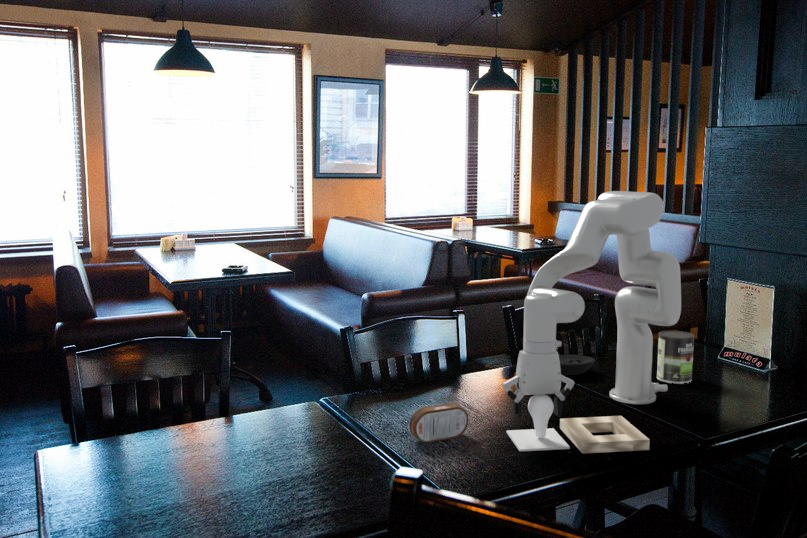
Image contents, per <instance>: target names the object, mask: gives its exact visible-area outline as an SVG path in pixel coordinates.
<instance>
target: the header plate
mask: <svg viewBox="0 0 807 538" xmlns="http://www.w3.org/2000/svg"><path fill="white" fill-rule="evenodd" d="M559 429H560V430H561V431H562V432H563V434H564V435H565V436H566V437H567V438H568V439H569V440H570V441H571V442H572V444H574V446H575V447H576V448H577V449H578V450H579V451H580V453H582V454H596V453H598V454H600V453H615V452H634V451H635V452H636V451H650V438H649V437H647V436H646V435H645V434H644V433H642V432H641V431H640V430H639V429H638V428H637V427H635V426H634V425H633V424H631V422H630V421H628V420H627V419H626V418H625V417H623V416H622V415H610V416H609V415H607V416H588V417H569V418H568V417H566V418H559ZM593 433H595V434H596V433H613V434H604V435H602V434H601V435H593Z"/></svg>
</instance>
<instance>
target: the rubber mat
mask: <svg viewBox="0 0 807 538" xmlns="http://www.w3.org/2000/svg"><path fill="white" fill-rule="evenodd" d="M506 434H507V435H508V437H509V438H510V440H511V442H512V443H513V444H514V446H515V447H516V448H517V450H518V451H519V452H534V451H535V452H536V451H553V450H570V449H571V447H570V445H569V444H568V443H567V442H566V441H565V439H564V438H563V437H562V436H561V435H560V434H559V433H558V431H556V429H555V428H554V427H552V428H551V427H550V428H548V427H547V428H546V436H545V437H543V438H541V439H540V438H538V437H537V436H536V435H535V428H534V429H533V428H531V429H511V430H509V429H507V430H506Z"/></svg>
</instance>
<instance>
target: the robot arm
mask: <svg viewBox="0 0 807 538" xmlns="http://www.w3.org/2000/svg"><path fill="white" fill-rule="evenodd" d="M597 197H598V198H597V200H591V201H589V202H587V203H586V204H585V205H584V207H583V209H582V211H581V213H580V215H579V217H578V219H577V221H576V224H575V226H574V228H573V231H572V232H571V235H570V237H569V238H568V241H567V243H566V246H565V247H564V249H562V250H561V251H559V252H558V253H556V254H554V256H552V257H551V258H550V259H549V260H547V261H546V262H545V263H544V264H543V265H542V266H540V267H539V268H538V270H537V272H536V273H535V275H534V277H533V279H532V281H531V284H530V285H529V288H528V291H527V293H526V296H525V298H524V300H523V301H524V304H523V342H522V344H523V345H522V347H523V349H521V350H519V353H518V357H517V362H516V369H515V371H516V372H515V376H513V377H511V378H508V380H506V381H504V382H502V384H501V385H502V388H503V389H504V391H505V393H506V394H507V396H508V397H509V398H510V399H511V400H512V403H513V405H512V413H513V415H515V416H516V418H517V420H521V419H522V413H523V412H522V409H523V408H522V402H521V400H522V399H523V398H524V397H525V396H532V395H533V396H534V395H537V394H545V395H553V394H555V397H554V398H553V404H554V410H553V413H554V415H555V416H557V417H558V418H561V417H562V413H563V411H564V410H563V407H564V401H565V399H566V398H567V396H568V395H569V394H570V393H571V390H572V389H573V387H574V385H575V381H574V380H573V379H571V378H569V377H566V375H561V369H560V361H559V355H560V354H559V352H558V351H557V349H558V348H559V347H562V341H561V340H557V324H568V323H573V322H576V321H578V320H579V319H581V317H582V316H583V314H584V312H585V309H586V305H585V300H584V299H583V297H582V296H581V295H580V294H578V293H577V292H574V291H570V290H565V289H558V288H553V287H554V286H555V284H556V283H557V282H558V281H560V280H561V279H563V278H564V277H566V276H568V275H570V274H573V273H576V272H579V271H582V270H586V269H588V268H591V267H593V266H595V265H596V264H598V262H599V260H600V257H601V254H602V253H603V250H604V248H605V246H606V243H607V241H608V239H609V236H611V235H612V236H613V235H615V236H616V241H617V242H616V243H617V257H618V258H617V259H618V271H619V277H620V278H621V280H622V281H624V282H625V283H627V284H633V285H640V286H625V287H623V288H620V290H619V291H618V292H617V294H616V295H615V299H614V308H615V316H616V325H617V335H616V336H617V337H616V338H617V340H616V341H617V343H616V361H615V365H616V367H615V383H614V385H615V386H614V387H613V388H611V390H609V397H610V398H611V399H613V400H614V401H617V402H620V403H624V404H628V405H649V404H652V403H654V402H656V400H657V395H656V394H657V393H658V392H667V391H668V389H669V388H668V387H669V386H668V384H666V383H665V384H659V382H653V381H652V373H653V371H652V370H653V369H652V368H653V349H654V348H653V347H654V337H653V333H652V329H651V328H650V326H649V325H654V326H661V327H671V326H674V325H676V324H677V323H678V322H679V320H680V316H681V314H682V285H681V284H682V283H681V280H682V278H681V265H680V262H679V260H678V258H677V257H676V255H674V254H672V253H671V252H667V251H662V250H661V251H660V250H659V251H658V250H653V249H652V246H651V245H652V244H651V234H650V228H652V227H654V226H656V225H657V224H658V223H659V222H660V221H661V219H662V217H663V214H664V209H665V208H664V207H665V206H664V201H663V199H662V198H661V197H660V195H659V194H657V193H654V192H649V191H648V192H647V191H646V192H645V191H627V190H626V191H625V190H613V191H612V190H611V191H606V192H602V193H601V194H600V195H599V196H597ZM642 286H643V287H642ZM644 286H646V287H644ZM647 286H649V287H647ZM650 287H655V289H654V288H650ZM562 383H565V386H564V387H563V388H562ZM514 385H515V388H516V390H515V391H514V392H513V391H512V388H511V387H512V386H514ZM561 388H562V389H561Z"/></svg>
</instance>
